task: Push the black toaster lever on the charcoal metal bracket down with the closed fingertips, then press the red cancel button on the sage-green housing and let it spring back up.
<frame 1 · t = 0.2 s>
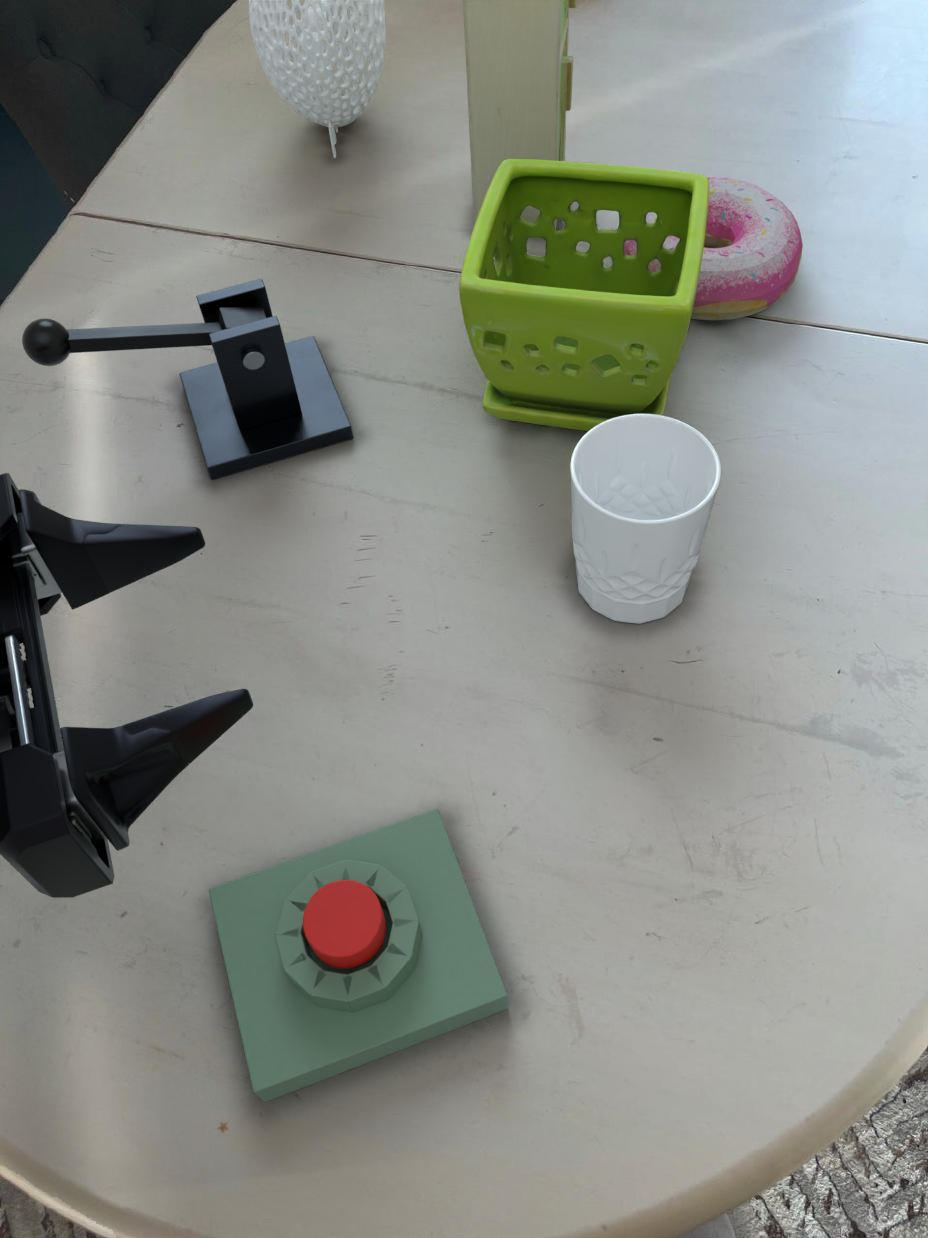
hand: (225, 612, 46), 15 cm above the table, tool horizontal, fingers open, 9 cm apart
white cup: (631, 581, 64), on the table
cancel button: (345, 924, 48), point 4 cm above the table, slide at 0.1 cm
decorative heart: (337, 127, 95), on the table
toaster bracket: (266, 411, 74), on the table
donut: (703, 278, 80), on the table
toy refrigerator: (525, 207, 87), on the table
flower pot: (581, 384, 74), on the table
button housing: (358, 954, 52), on the table
toaster lever: (148, 337, 67), point 9 cm above the table, hinge at 15.0°
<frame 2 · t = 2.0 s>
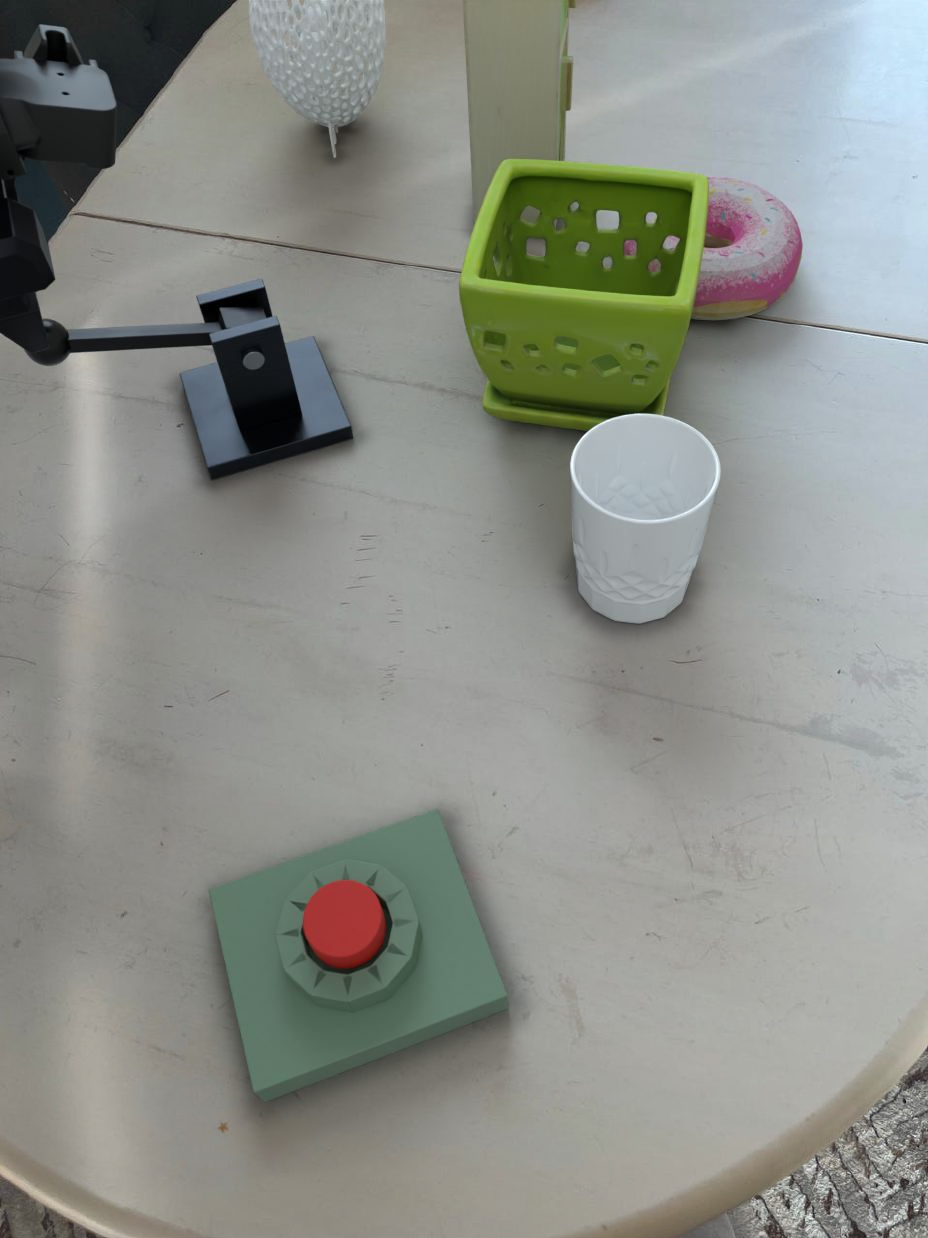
hand: (32, 308, 62), 13 cm above the table, tool pointing down, fingers open, 7 cm apart
nothing on the table moved.
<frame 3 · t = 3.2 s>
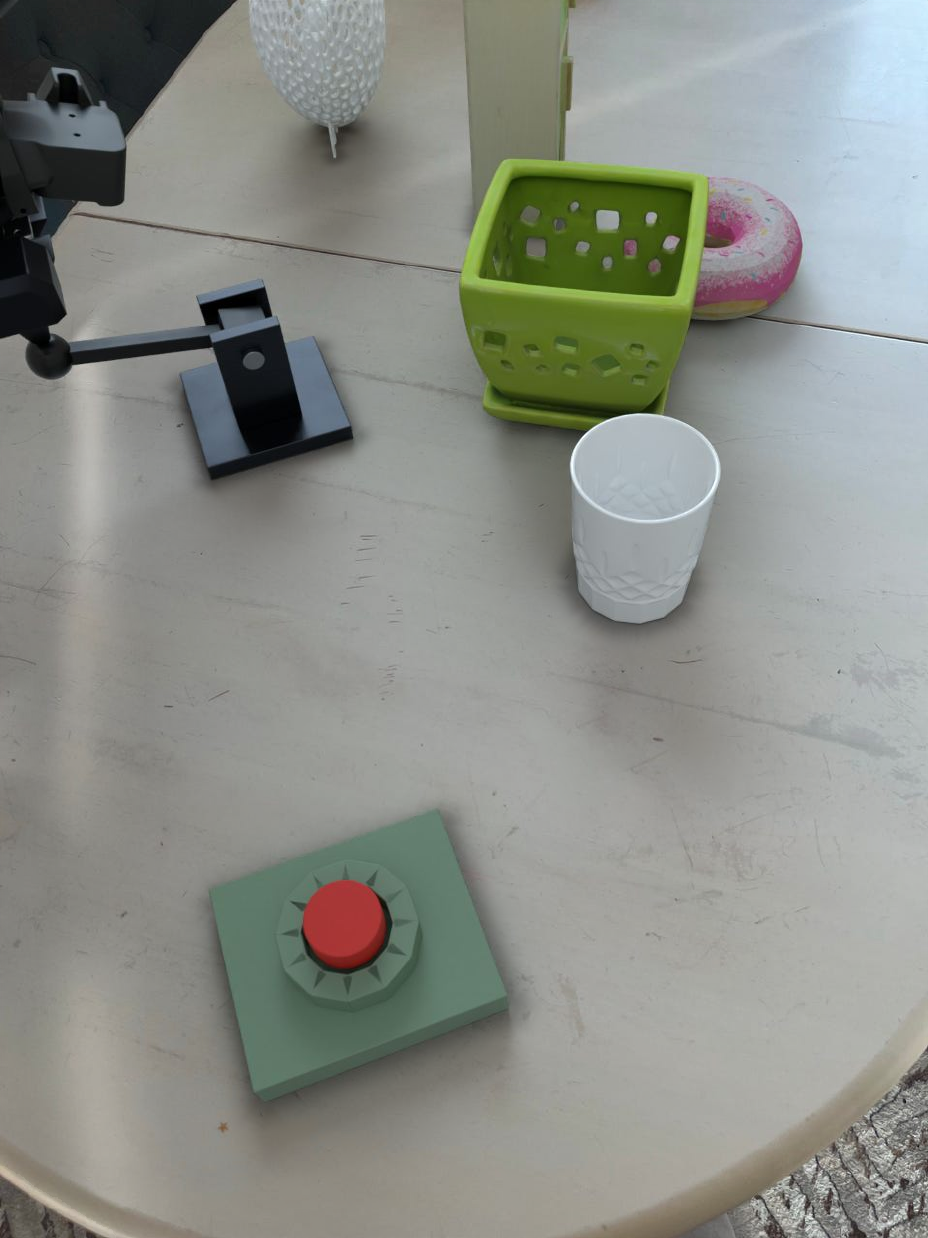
hand: (42, 338, 64), 10 cm above the table, tool pointing down, fingers closed
toaster lever: (149, 343, 67), point 8 cm above the table, hinge at 9.9°
everything else where it was.
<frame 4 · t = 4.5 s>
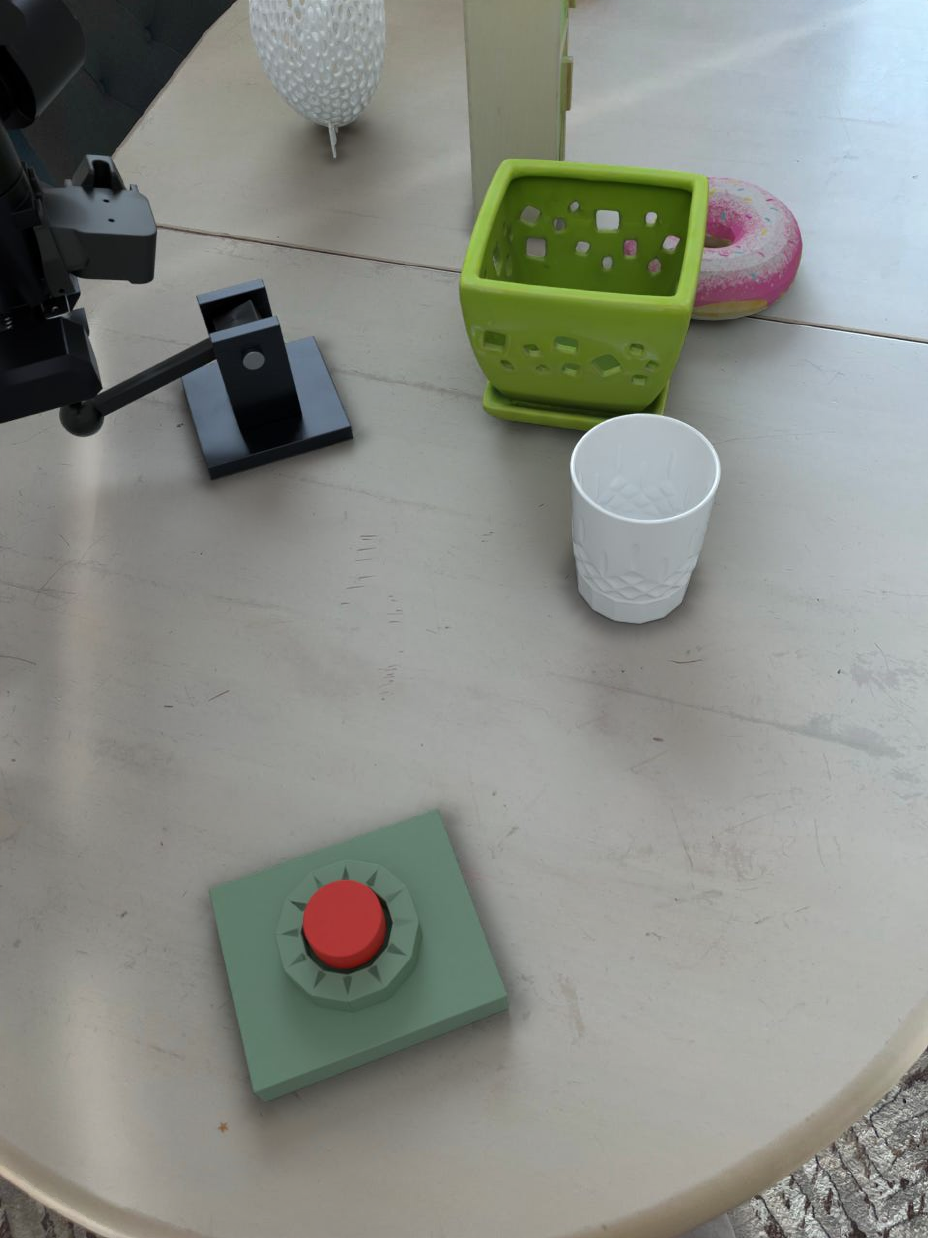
hand: (74, 399, 68), 5 cm above the table, tool pointing down, fingers closed, pressing on toaster lever
toaster lever: (162, 373, 69), point 6 cm above the table, hinge at -14.4°, touching gripper
everything else where it was.
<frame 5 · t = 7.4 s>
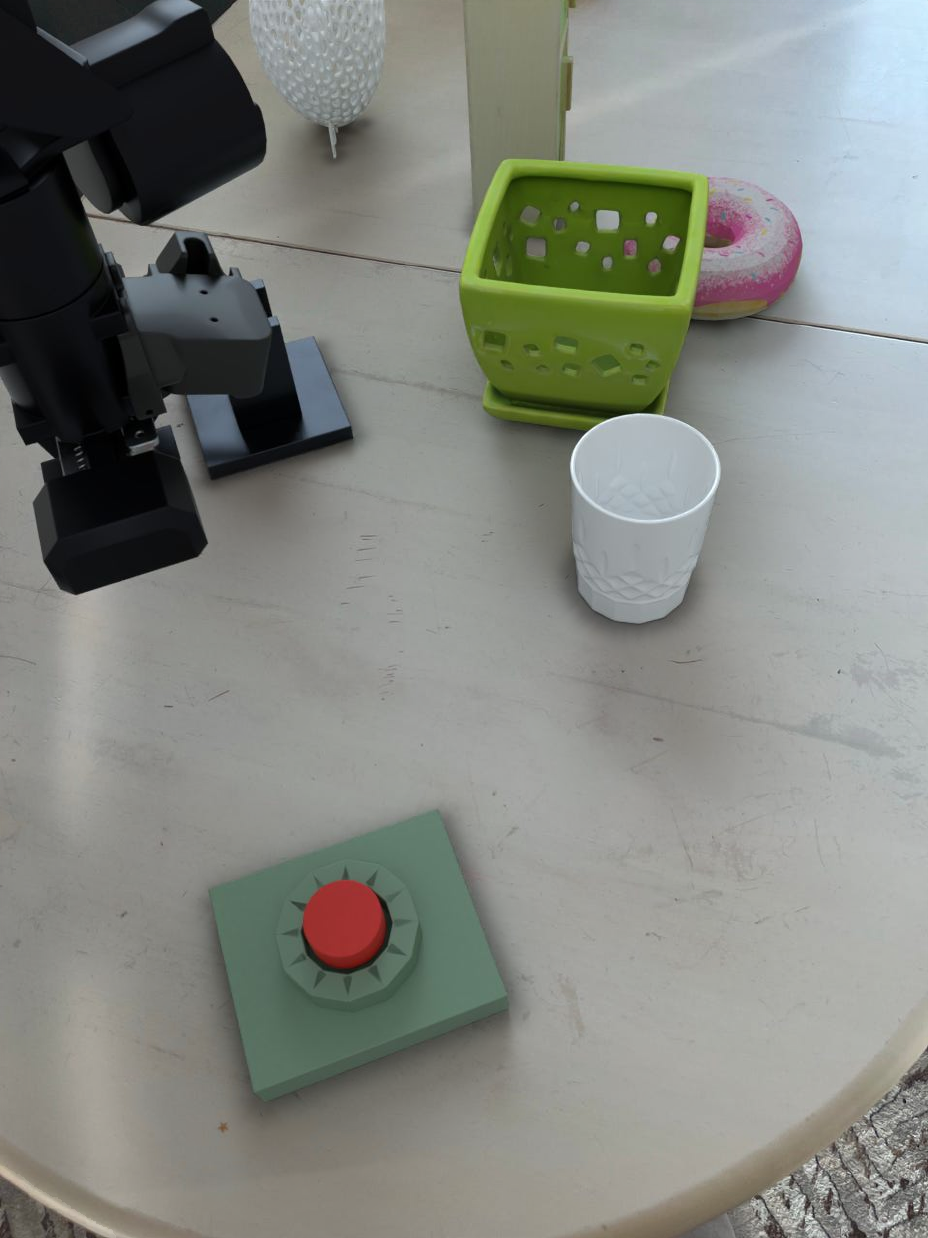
hand: (148, 529, 54), 11 cm above the table, tool pointing down, fingers closed
toaster lever: (169, 381, 70), point 5 cm above the table, hinge at -21.8°
everything else where it was.
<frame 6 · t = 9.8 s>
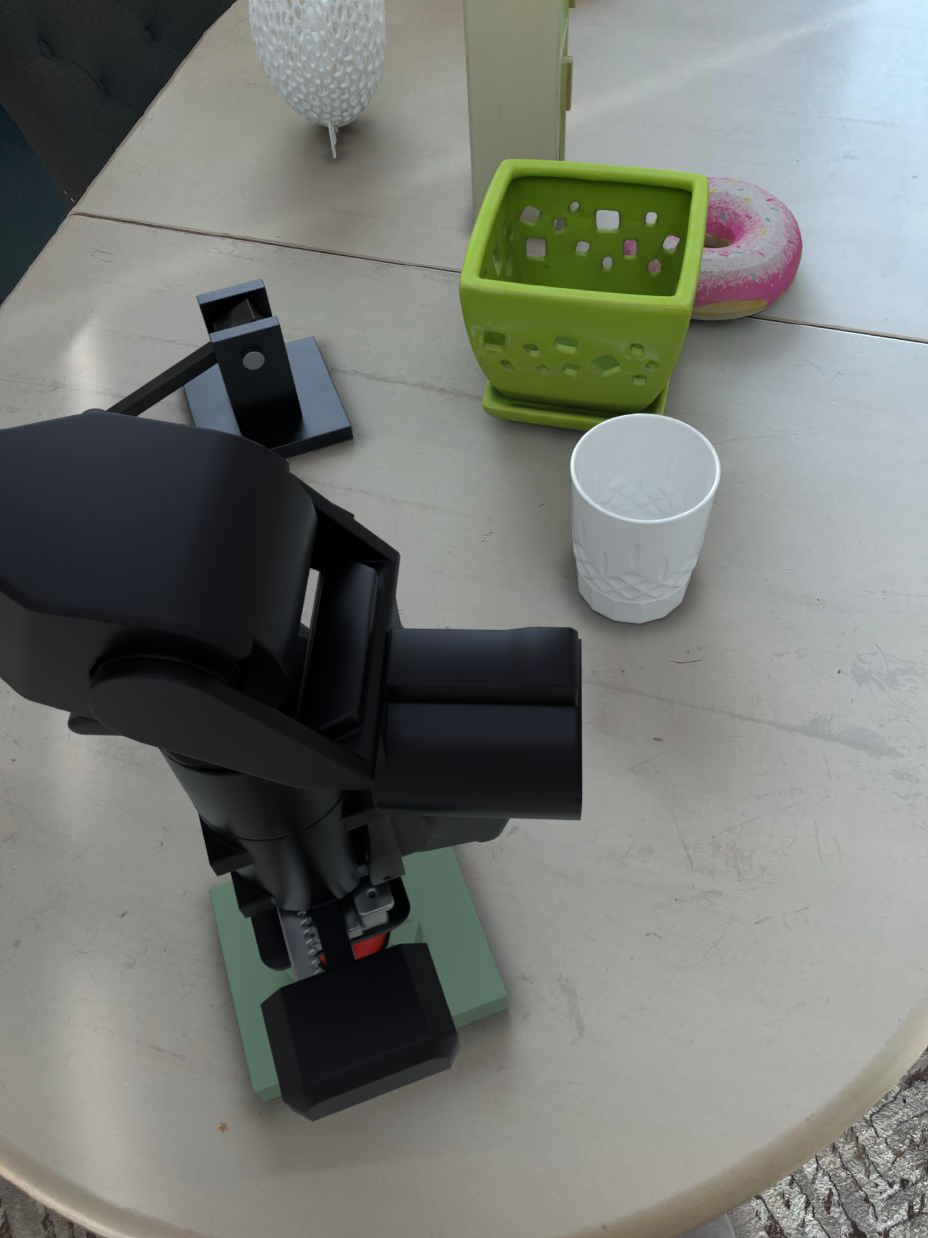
hand: (342, 919, 48), 5 cm above the table, tool pointing down, fingers closed, pressing on cancel button
cancel button: (345, 926, 49), point 4 cm above the table, slide at -0.2 cm, touching gripper
everything else where it was.
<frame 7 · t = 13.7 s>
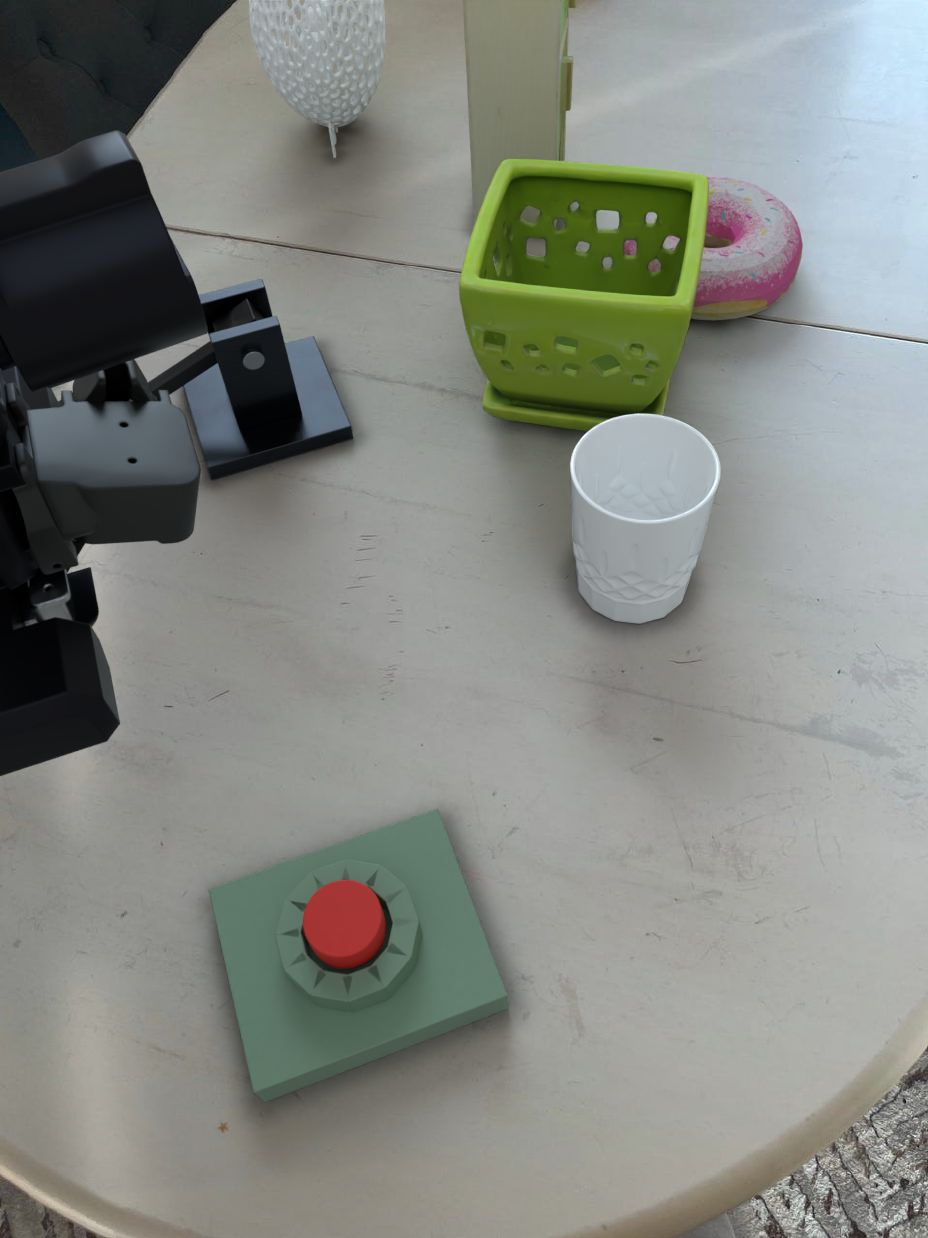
hand: (75, 667, 48), 12 cm above the table, tool pointing down, fingers closed
cancel button: (345, 924, 48), point 4 cm above the table, slide at 0.1 cm
everything else where it was.
at the end: toaster lever at -22° (first picture: +15°); cancel button pushed in 1.1 cm at the most during the clip, back to where it started at the end; cancel button slide at 0.1 cm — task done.
